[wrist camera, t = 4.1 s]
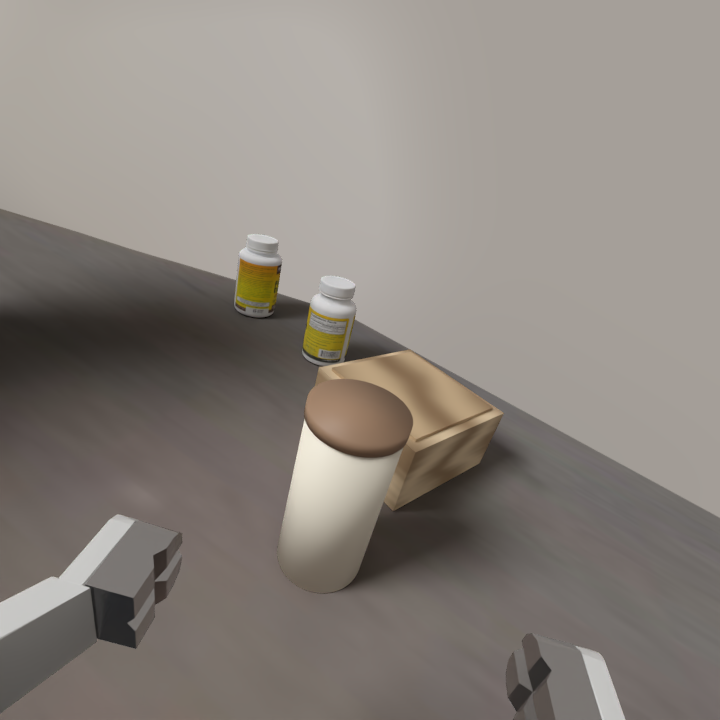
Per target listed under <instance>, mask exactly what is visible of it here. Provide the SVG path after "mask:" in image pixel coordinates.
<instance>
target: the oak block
mask: <svg viewBox="0 0 720 720" xmlns="http://www.w3.org/2000/svg"><path fill="white" fill-rule="evenodd" d="M333 379H354V380H360V381H365V382H368V383H372V384H374V385H377V386H380V387H382V388H384V389H386V390H388V391H389V392H391V393H393V394H394V395H396V396H397V397H398V398H399V399H401V400H402V401H403V402H404V403H405V404H406V406H407V407H408V408H409V410H410V412H411V414H412V417H413V427H412V430H411V433H410V436H409V439H408V441H407V443H406V445H405V446H404V447H403V450H402V452H401V455H400V458H399V461H398V463H397V466H396V469H395V472H394V474H393V477H392V480H391V483H390V486H389V488H388V491H387V494H386V497H385V499H384V502H385V503H386V505H387V506H388V507H389V508H390V509H391V510H392V511H395V510H396V509H398V508H400V507H402V506H404V505H405V504H407V503H409V502H411V501H413V500H414V499H416V498H418V497H420V496H422V495H423V494H425V493H427V492H429V491H431V490H432V489H434V488H436V487H438V486H440V485H441V484H443V483H445V482H447V481H449V480H450V479H452V478H454V477H456V476H458V475H459V474H461V473H463V472H465V471H467V470H468V469H470V468H472V467H474V466H476V465H477V464H479V463H480V461H481V459H482V457H483V455H484V453H485V451H486V449H487V447H488V445H489V443H490V441H491V439H492V437H493V435H494V432H495V430H496V428H497V426H498V424H499V422H500V420H501V418H502V416H503V414H504V413H503V412H501V411H500V410H498V409H497V408H495V407H494V406H492V405H491V404H490V403H488V402H487V401H485V400H484V399H482V398H481V397H479V396H478V395H476V394H475V393H473V392H472V391H470V390H469V389H467V388H466V387H464V386H463V385H461V384H460V383H459V382H457V381H456V380H454V379H453V378H451V377H450V376H448V375H447V374H445V373H444V372H442V371H441V370H439V369H438V368H436V367H435V366H433V365H432V364H430V363H429V362H427V361H426V360H425V359H423V358H422V357H420V356H419V355H417V354H416V353H414V352H413V351H411V350H405V351H400V352H395V353H390V354H385V355H379V356H374V357H369V358H364V359H359V360H354V361H349V362H344V363H339V364H334V365H329V366H323V367H319V370H318V374H317V379H316V384H315V386H316V385H318V384H320V383H322V382H325V381H328V380H333Z"/></svg>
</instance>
